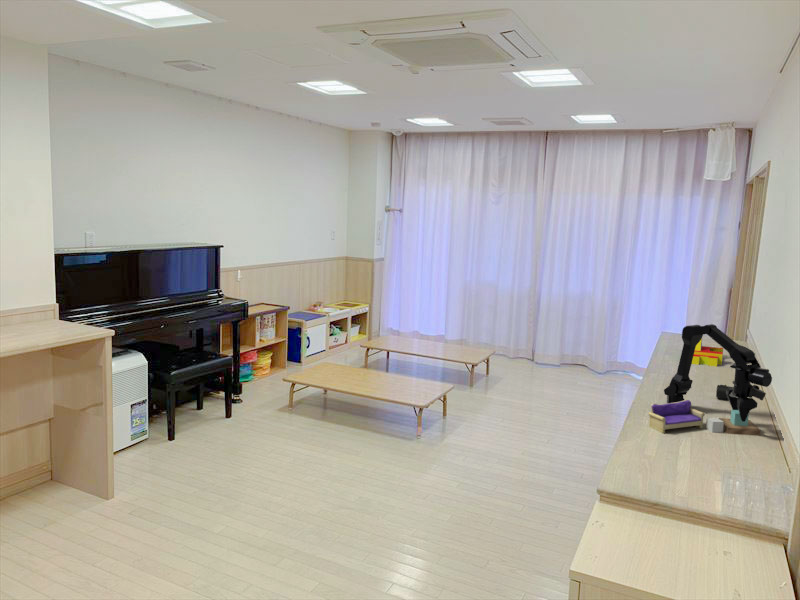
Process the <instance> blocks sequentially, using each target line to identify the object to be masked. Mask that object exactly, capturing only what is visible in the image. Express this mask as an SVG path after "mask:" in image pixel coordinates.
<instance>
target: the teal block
mask: <svg viewBox="0 0 800 600" xmlns="http://www.w3.org/2000/svg"><path fill="white" fill-rule="evenodd" d="M749 415H750V413H749V414H748V416H747V418H746V420H745V422H743V421H742V420H741V417H740V414H739V410H732V409H731V411H730V418H729V419H730V422H731V423H732V424H733V425H735V426H748V420H749Z"/></svg>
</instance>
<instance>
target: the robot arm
mask: <svg viewBox="0 0 800 600" xmlns="http://www.w3.org/2000/svg"><path fill="white" fill-rule="evenodd" d="M704 335H707V336H709V337H710V338H711V339H712V340H713V341H714V342H715V343H717V344H718V345H719V346H721V348H723V350H725V351H726V352H727V353H728V355H729V357H730V359H732V361H733V362H734V363H733V364H731V365H730V366H729V368H731V369H734V379H733V380H732V384H733V387H734V388H727V389H726V394H727V397H728V399H729V400H728V401H729V402H728V403H729V405H730V407H731V410H739V414H740V417H741V420H742V421H743V422H745V420H746V418H747V416H748V414H749V415H750V411H752V410H754V409H757V408H758V401H756V400H755V399H758V400H760V401H764V399H765V396H766V395H767V393H766V392H765V391H763V390H761V389H760V386H762V387H766V388H768V387H769V386H770V385H771V384H772V381H773V377H772V373H770V369H768V368H761V367H762V366H761V365H760V363H759V360H757V358H756V354H755V352H754V351H753V350H751V349H750V348H749V347H746V346H743V345H741V344H738V343H737V342H736V341H734V340H733V339H732V338H731V337H729V336H728V335H727V334H726V333H724V332H723V331H722V330H721V329H719V328H718V327H717V325H716V324H712V323H710V324H705V325H699V324H694V325H693V324H692V325H691V324H690V325H685V326H684V327H683V328H682V331H681V339H682V341H683V344H682V345H683V346H682V350H681V354H680V358H679V363H678V366H677V370H676V373H674V375H673V377H672V378H671V380H670V383H669V385H668V386H666V388H664V389H663V392H664V396H666V404H667V403H675V402H680V401H683V400H686V399H685V398H684V396H685V395H687V394H688V392H689V391H690V389H692V384H693V380H692V379H691V378H690V371H691V367H692V365H693V364H692V360H693V355H694V351H695V347H696V345H697V344H698V343H699V342H700V340H701V338H702V339H703V336H704ZM753 397H754V398H755V399H754V398H753Z"/></svg>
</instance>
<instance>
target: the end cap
mask: <svg viewBox="0 0 800 600" xmlns="http://www.w3.org/2000/svg"><path fill="white" fill-rule="evenodd" d="M727 388H734V386H728V385H726V384H717V386H716V394H715V395H716V399H718V400H723V401H729V399H728V397H727V394H726V389H727Z"/></svg>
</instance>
